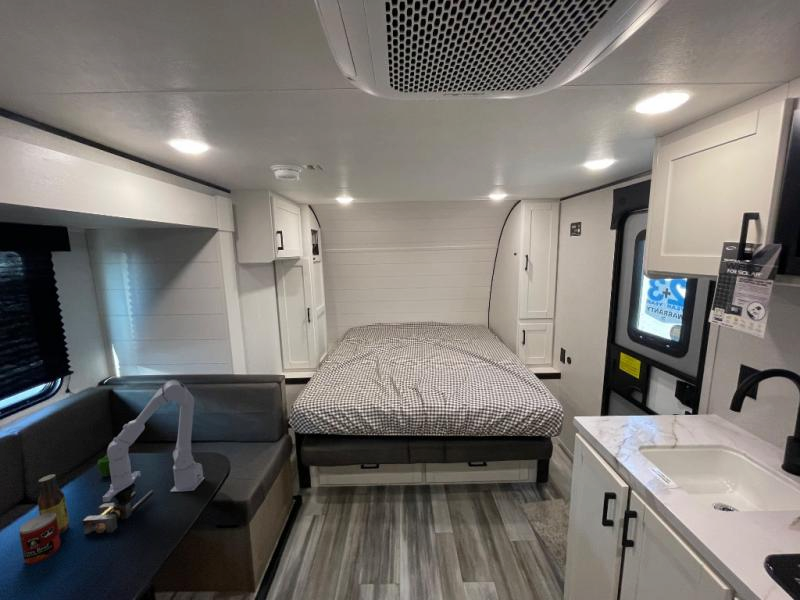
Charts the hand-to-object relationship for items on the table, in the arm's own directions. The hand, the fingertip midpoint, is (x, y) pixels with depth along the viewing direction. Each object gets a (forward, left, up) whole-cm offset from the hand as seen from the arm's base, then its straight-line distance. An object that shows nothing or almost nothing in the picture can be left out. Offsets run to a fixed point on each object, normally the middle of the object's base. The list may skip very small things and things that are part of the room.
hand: (125, 506), depth 120 cm
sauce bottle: (+16, +9, -1) cm, 18 cm away
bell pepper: (+25, -24, -1) cm, 35 cm away
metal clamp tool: (0, +1, -1) cm, 2 cm away
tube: (0, +6, -1) cm, 6 cm away
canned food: (+11, +18, -1) cm, 21 cm away
